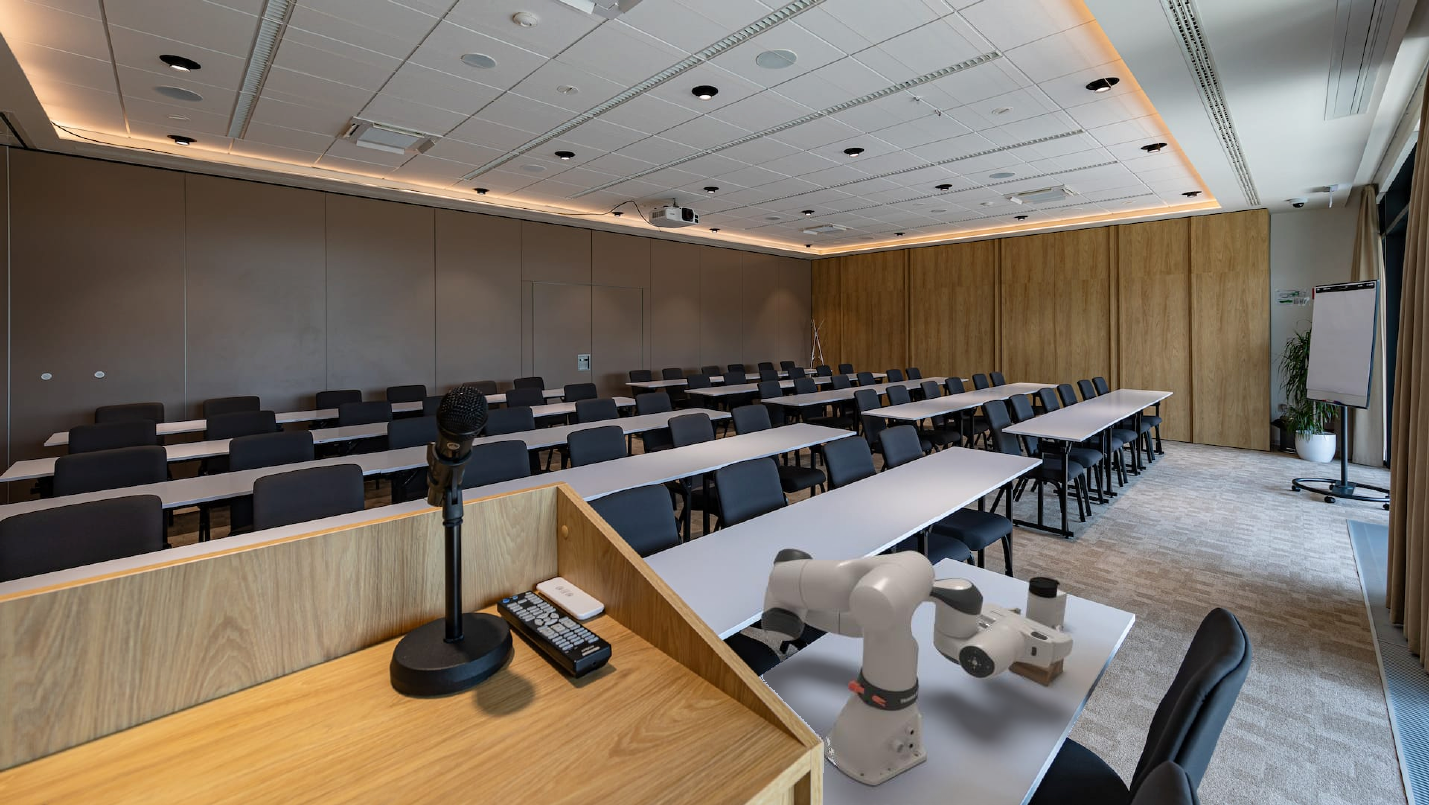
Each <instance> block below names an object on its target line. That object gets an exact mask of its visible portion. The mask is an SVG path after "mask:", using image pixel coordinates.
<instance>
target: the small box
mask: <svg viewBox="0 0 1429 805" xmlns="http://www.w3.org/2000/svg"><path fill="white" fill-rule="evenodd" d="M1067 596H1068V593H1067V592H1065V591H1063V590H1060V589H1058V588H1057V600H1056V610H1055V620H1054V623H1055V624H1057V625H1060V626H1061V628H1063V627H1064V620H1065V615H1066V614H1065V613H1066V606H1067V605H1066V604H1067V598H1068V597H1067Z"/></svg>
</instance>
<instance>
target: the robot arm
mask: <svg viewBox="0 0 1429 805" xmlns="http://www.w3.org/2000/svg"><path fill="white" fill-rule="evenodd" d="M763 601H764V602H763V609H762V613H761V614H760V615H761V616H760V617H761V618H760V620H761V621H760V622H761V623H760V624H761V628H762V630H763V631H764V632H765V633H766V634H768V635H769V636H770V637H771V638H773V639H775V640H779V641H782V642H783V641H784V642H787V641H795V640H797V639H799V638H800V637H801V635H802V633H803V632H804V628H805V624H806V625H809V626H810V627H813V628H816V629H818V630H820V631H824V632H827V633H830V634H834V635H838V636H842V637H847V638H852V639H862V666H861V667H860V670H859V674H858V676H857V681H856V680H854V679H852V680H850V681H849V684H848V689H849V691H852V692H853V693H852V694H851V696H850V697H849V699H848V700H847V702H846V703H845V705H844V707H843V708H842V709H841V711H840V712H839V714H838V716H837V717H836V719H835V722H834V726H833V728H831V730H829V732H828V733H827V734H826V736H827V738H829V740H830V745H829V746H828V742H827V738H826V736H825V737H824V738H823V739H822V740H823V742H824V754H823V756H824V757H825V759H827V758H828V757H829V758H831V759H833V760H834V762H835V763H836V765H837V766H838V768H839V769H838V768H837V769H838V770H840V771H841V772H842V773H844V774H845V775H847V776H848V777H850V778H852V779H854V780H856V781H858V782H861V783H863V784H865V785H870V786H878V785H880V784H882V783H884V782H886V781H888V780H889V779H891V778H893V777H895V776H897V775H900V774H902V773H903V772H905V771H908V770H909V769H911V768H913V767H914V766H916V765H919V764H921V763H922V762H924V761H926V760H927V757H928V756H927V751H926V749H925V747H924V745H923V732H922V731H923V727H922V723H923V722H922V716H921V712H920V709H919V707H918V701H917V700H918V697H919V690H920V685H919V677H918V663H919V662H918V661H919V648H920V647H919V643H918V641H917V639H916V637H914V636H913V633H912V619H913V616H914V614H915V611H916V610H917V608H919V607H920V605H922V604H923V602H925V603H926V602H927V603H928V602H929V603H933V604H935V609H934V611H935V612H934V623H933V646H934V647H935V649H936V650H937V651H938V653H939V654H941V655H942V656H943V657H944V658H945V659H946V660H948V661H950V662H951V663H953V664H955V665H959V666H960V667H961V668H962V670H963V671H965V673H967V674H968V675H970V676H971V677H974V678H976V679H989V678H993V677H996V676H998V675H1000V674H1001V673H1003V672H1005V671H1006V670H1008V669H1009V667H1010V666H1011V665H1012V664H1013V662H1016V661H1018V662H1024V663H1030V664H1034V665H1037V666H1040V667H1044V668H1047V667H1049V666H1050V663H1051V662H1057V661H1060V660H1062V659H1063V658H1064V659H1065V658H1066V657H1067V656H1069V655H1070V654H1071V653H1072V650H1073V644H1074V640H1073V638H1072V637H1071V635H1069V634H1066V633H1063V632H1061V631H1062V627H1061V626H1060V625H1057V624H1055V623H1054V624H1053V625H1052V628H1049V627H1047V626H1045V625H1042V624H1040V623H1038V622H1035V621H1033V620H1031V619H1028V618H1026V616H1023V615H1022V613H1021V612H1022V609H1021V608H1018V607H1017V606H1014V607H1013V608H1011V607H1009V608H1008V607H1006V608H1004V607H1002V606H999V605H997V604H995V603H990V602H986V603H985V604H983V602H984V596H983V594H982V593H981V591H980V590H979V589H978V587H977V586H976V585H975V584H974V583H973V582H972V581H970V580H968V579H965V578H961V577H960V578H958V577H951V578H948V577H947V578H941V579H936V572H935V568H934V566H933V564H932V563H931V561H930V560H929V559H928V558H927V557H926V556H925V555H923V554H921V553H920V552H918V551H915V550H905V551H901V552H900V551H899V552H896V553H890V554H889V553H887V554H881V555H872V556H870V555H869V556H864V557H863V556H862V557H855V558H849V559H822V558H821V559H818V558H815V559H814V558H813V557H812V556H811V555H810V553H807V552H805V551H804V550H801V549H797V548H784V549H781V550H779V551H778V553H777V554H776V556H775V558H774V560H773V567H772V569H771V571H770V574H769V576H768V583H767V587H766V588H765V594H764V600H763ZM829 748H830V749H829ZM831 748H832V749H833V750H834V753H832V755H831V753H829V750H830V751H831ZM833 754H834V755H833ZM832 757H833V758H832Z"/></svg>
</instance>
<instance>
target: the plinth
mask: <svg viewBox="0 0 1429 805" xmlns="http://www.w3.org/2000/svg"><path fill="white" fill-rule="evenodd" d="M1064 660H1065V658H1063V659H1062V660H1060V661H1057V662H1051V663H1050V666H1049V667H1047V668H1044V667H1040V666H1037V665H1034V664H1030V663H1024V662H1018V661H1016V662H1013V664H1012V665H1011V666H1010V667H1009V668H1008V671H1011V672H1013V673H1016V675H1020V676H1021V677H1024V678H1027V679H1028V680H1031V681H1033V682H1034V683H1037V684H1039V685H1042V686H1044V687H1047V686H1048V685H1050V684H1051V683H1052V682H1053V681H1055V679H1056V678H1057V677H1058V676H1059V675H1060V674H1061V673H1062V672H1063V671H1064V670H1063V669H1064Z"/></svg>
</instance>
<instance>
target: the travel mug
mask: <svg viewBox="0 0 1429 805" xmlns="http://www.w3.org/2000/svg"><path fill="white" fill-rule="evenodd" d="M1060 584H1061V583H1060V581H1059V580H1058V579H1053V578H1051V577H1048V576H1047V577H1046V576H1035V577H1031V578H1030V579H1029V583H1028V590H1027V600H1026V610H1025V617H1026V618H1028V619H1031V620H1033V621H1035V622H1038V623H1040V624H1042V625H1045V626H1047V627H1049V628H1052V625H1053V624H1054V620H1055V610H1056V600H1057V589H1058V588H1059V587H1058V586H1060Z"/></svg>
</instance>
